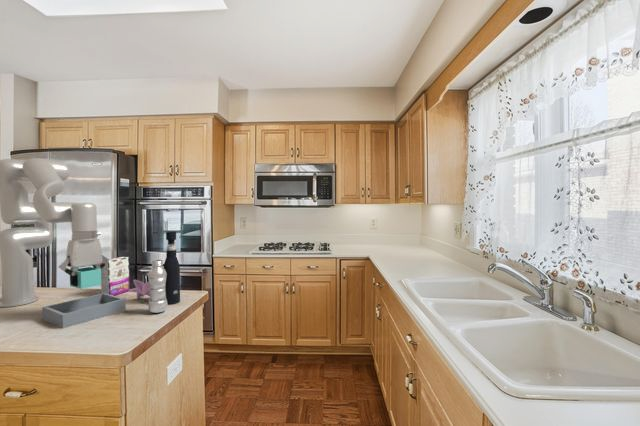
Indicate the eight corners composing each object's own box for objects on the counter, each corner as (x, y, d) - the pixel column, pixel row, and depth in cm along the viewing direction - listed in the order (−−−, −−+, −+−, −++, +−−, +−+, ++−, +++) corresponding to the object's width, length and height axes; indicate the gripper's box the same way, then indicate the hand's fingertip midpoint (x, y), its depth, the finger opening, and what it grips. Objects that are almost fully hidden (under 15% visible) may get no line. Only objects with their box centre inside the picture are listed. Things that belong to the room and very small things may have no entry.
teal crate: (70, 285, 112) (69, 269, 112) (89, 282, 118) (89, 266, 118) (81, 288, 108) (80, 272, 108) (101, 284, 114) (100, 268, 114)
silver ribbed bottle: (171, 310, 118) (171, 259, 118) (157, 316, 112) (156, 262, 112) (158, 308, 121) (158, 258, 120) (144, 314, 114) (143, 261, 114)
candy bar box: (121, 290, 146) (120, 256, 146) (130, 290, 145) (129, 256, 145) (100, 297, 135) (99, 260, 135) (109, 297, 134) (109, 261, 134)
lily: (166, 301, 133) (165, 280, 137) (146, 298, 122) (146, 275, 126) (142, 308, 134) (142, 287, 138) (120, 306, 123) (121, 283, 127)
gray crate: (42, 319, 108) (42, 307, 108) (104, 303, 126) (104, 293, 126) (63, 328, 101) (62, 315, 101) (125, 310, 118) (125, 298, 118)
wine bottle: (168, 299, 131) (167, 231, 130) (183, 300, 131) (182, 231, 130) (160, 304, 125) (159, 232, 124) (175, 304, 125) (174, 232, 124)
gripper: (104, 233, 122) (105, 277, 122) (50, 237, 107) (52, 287, 107) (115, 234, 118) (116, 279, 119) (60, 238, 103) (61, 290, 104)
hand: (85, 283), depth 113 cm, fingers closed on teal crate, 6 cm apart
